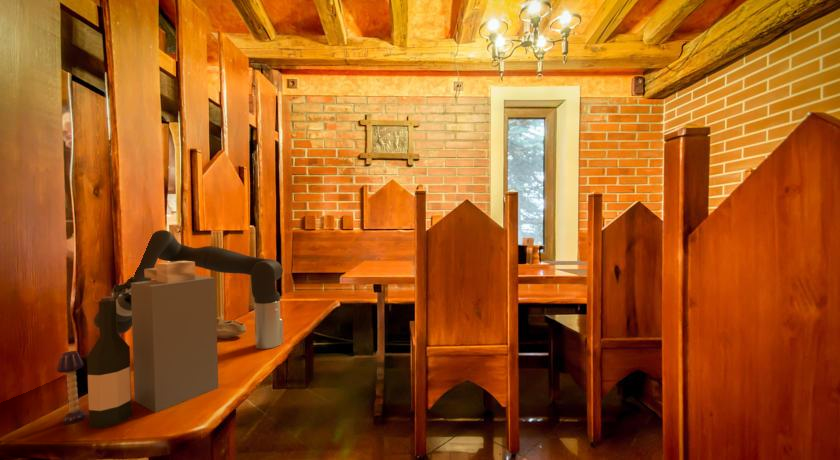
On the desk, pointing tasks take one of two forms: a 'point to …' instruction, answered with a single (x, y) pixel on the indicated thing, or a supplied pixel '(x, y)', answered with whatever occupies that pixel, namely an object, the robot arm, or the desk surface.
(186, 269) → the mallet
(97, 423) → the wine bottle
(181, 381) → the stand
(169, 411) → the desk surface
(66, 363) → the toy lamp
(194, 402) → the desk surface
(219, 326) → the oil lamp
